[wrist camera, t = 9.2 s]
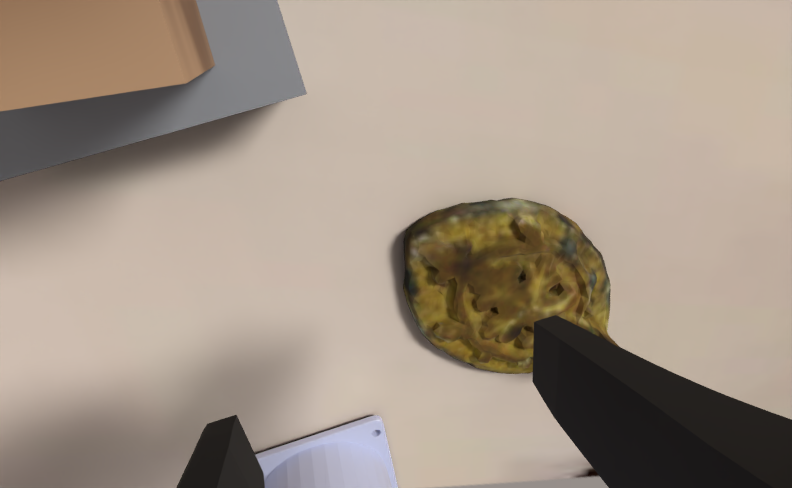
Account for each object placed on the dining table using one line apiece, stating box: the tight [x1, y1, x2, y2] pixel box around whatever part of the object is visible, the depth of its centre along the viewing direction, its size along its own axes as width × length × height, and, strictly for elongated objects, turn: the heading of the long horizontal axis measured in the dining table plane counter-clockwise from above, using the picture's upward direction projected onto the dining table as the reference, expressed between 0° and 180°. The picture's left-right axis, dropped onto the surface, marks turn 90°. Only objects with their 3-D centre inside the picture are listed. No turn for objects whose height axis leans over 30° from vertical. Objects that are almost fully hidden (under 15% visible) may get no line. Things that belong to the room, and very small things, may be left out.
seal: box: [403, 198, 619, 374], centre depth 21 cm, size 9×5×15 cm
